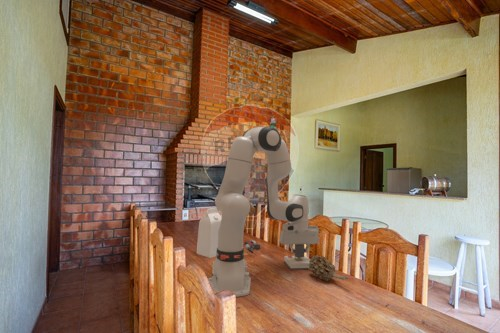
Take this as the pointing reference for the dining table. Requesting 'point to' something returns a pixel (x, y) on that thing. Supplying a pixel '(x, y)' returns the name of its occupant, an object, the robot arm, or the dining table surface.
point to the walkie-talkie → (251, 245)
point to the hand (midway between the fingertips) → (299, 252)
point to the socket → (297, 262)
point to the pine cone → (323, 268)
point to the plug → (299, 251)
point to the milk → (208, 233)
